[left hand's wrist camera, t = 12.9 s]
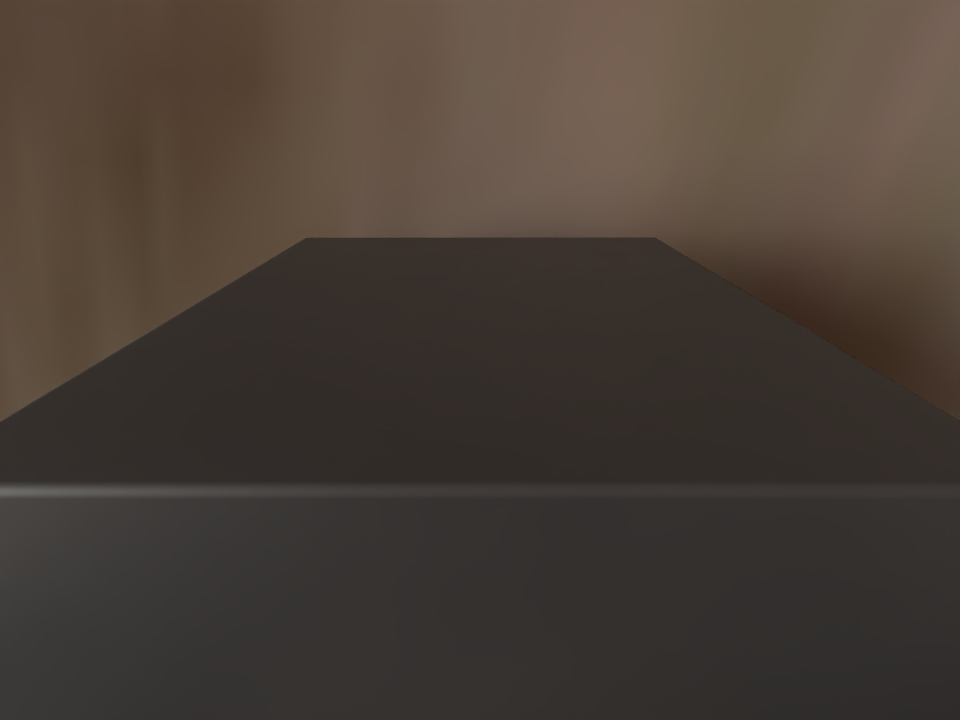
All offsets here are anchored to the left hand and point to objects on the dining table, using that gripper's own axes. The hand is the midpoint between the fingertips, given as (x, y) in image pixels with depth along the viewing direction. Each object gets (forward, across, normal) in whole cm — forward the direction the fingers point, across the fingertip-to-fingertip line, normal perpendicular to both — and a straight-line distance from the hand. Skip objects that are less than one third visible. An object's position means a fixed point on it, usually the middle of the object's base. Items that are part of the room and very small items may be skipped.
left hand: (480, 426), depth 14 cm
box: (+2, 0, -9) cm, 9 cm away
